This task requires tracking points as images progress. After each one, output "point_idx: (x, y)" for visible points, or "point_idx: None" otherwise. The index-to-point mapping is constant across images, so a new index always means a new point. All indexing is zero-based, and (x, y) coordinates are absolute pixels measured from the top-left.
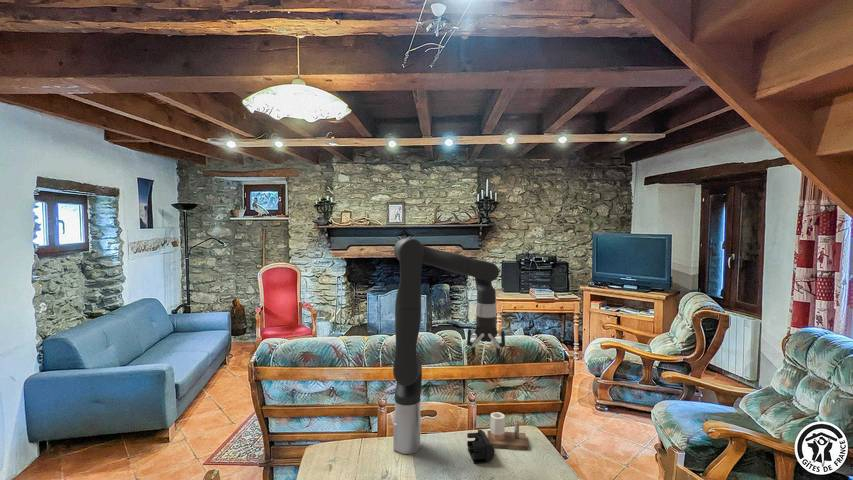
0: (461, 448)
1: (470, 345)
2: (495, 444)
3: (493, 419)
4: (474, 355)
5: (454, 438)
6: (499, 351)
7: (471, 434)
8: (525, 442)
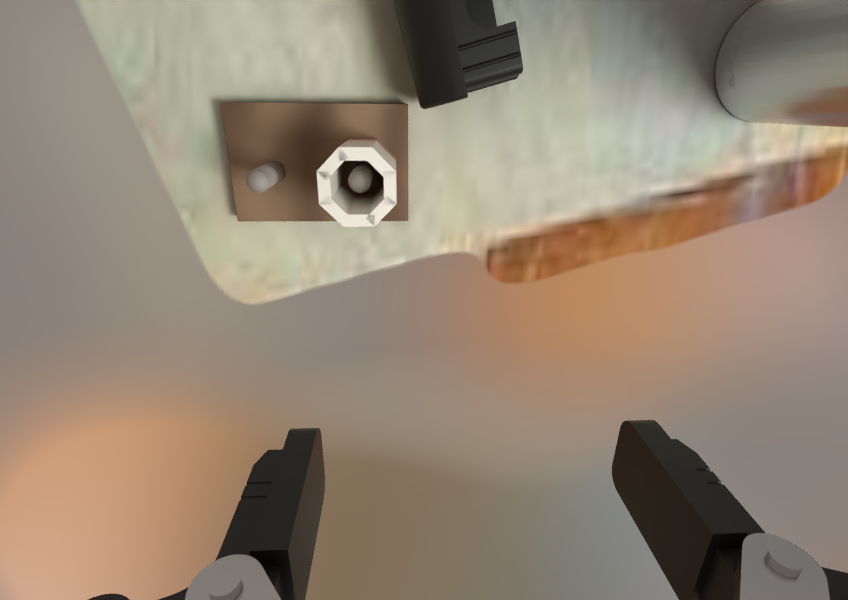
0: (529, 80)
1: (829, 576)
2: (375, 104)
3: (382, 156)
4: (647, 431)
5: (554, 164)
6: (243, 515)
7: (503, 52)
8: (234, 133)
